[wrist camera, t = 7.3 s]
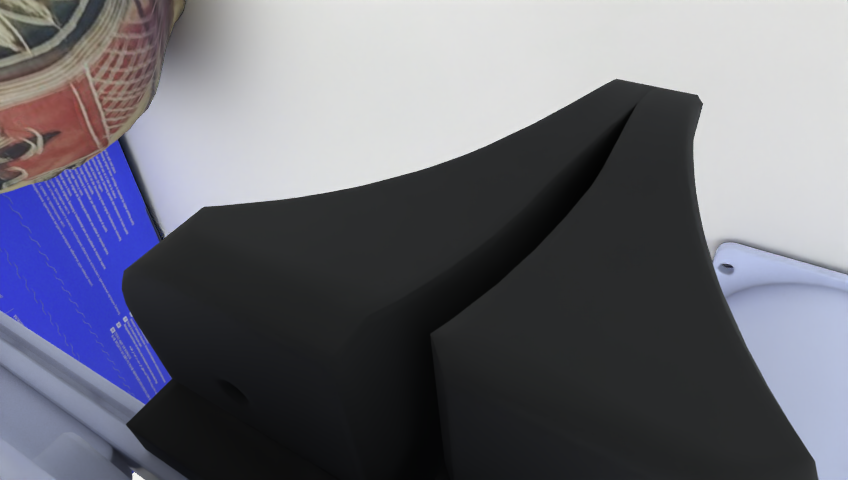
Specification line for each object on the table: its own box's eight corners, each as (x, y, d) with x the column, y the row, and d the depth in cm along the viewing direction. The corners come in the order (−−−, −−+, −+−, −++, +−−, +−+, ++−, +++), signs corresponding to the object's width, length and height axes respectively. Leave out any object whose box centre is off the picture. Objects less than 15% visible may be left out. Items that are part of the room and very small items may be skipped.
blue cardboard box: (16, 26, 42) (-328, 165, 30) (96, 61, 39) (-254, 230, 27) (171, 350, 69) (20, 486, 58) (224, 385, 66) (76, 535, 55)
